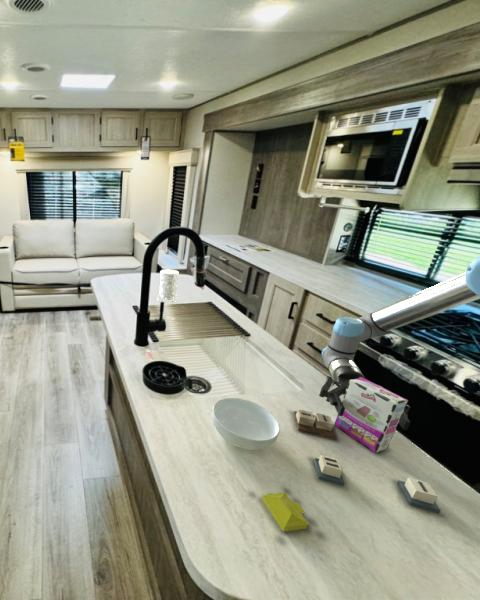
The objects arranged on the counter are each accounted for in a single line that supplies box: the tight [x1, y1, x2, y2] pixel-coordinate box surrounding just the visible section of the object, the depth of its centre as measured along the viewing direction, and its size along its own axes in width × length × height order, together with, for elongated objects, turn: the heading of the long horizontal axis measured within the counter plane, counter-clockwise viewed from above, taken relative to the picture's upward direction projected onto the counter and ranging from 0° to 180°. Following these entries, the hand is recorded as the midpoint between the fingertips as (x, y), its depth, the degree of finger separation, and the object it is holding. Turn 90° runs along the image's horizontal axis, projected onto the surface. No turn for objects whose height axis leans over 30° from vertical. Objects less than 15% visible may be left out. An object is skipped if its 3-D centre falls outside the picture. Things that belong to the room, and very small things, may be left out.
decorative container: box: [157, 268, 180, 304], centre depth 189 cm, size 12×12×18 cm
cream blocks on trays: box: [312, 454, 441, 514], centre depth 75 cm, size 22×6×4 cm, turn 66°
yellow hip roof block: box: [257, 491, 322, 541], centre depth 69 cm, size 10×9×3 cm
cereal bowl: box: [211, 397, 281, 451], centre depth 89 cm, size 17×17×7 cm
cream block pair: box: [292, 408, 337, 441], centre depth 92 cm, size 9×8×4 cm
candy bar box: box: [333, 377, 409, 454], centre depth 86 cm, size 11×5×16 cm, turn 17°
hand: (373, 418), depth 83 cm, fingers open, 13 cm apart
